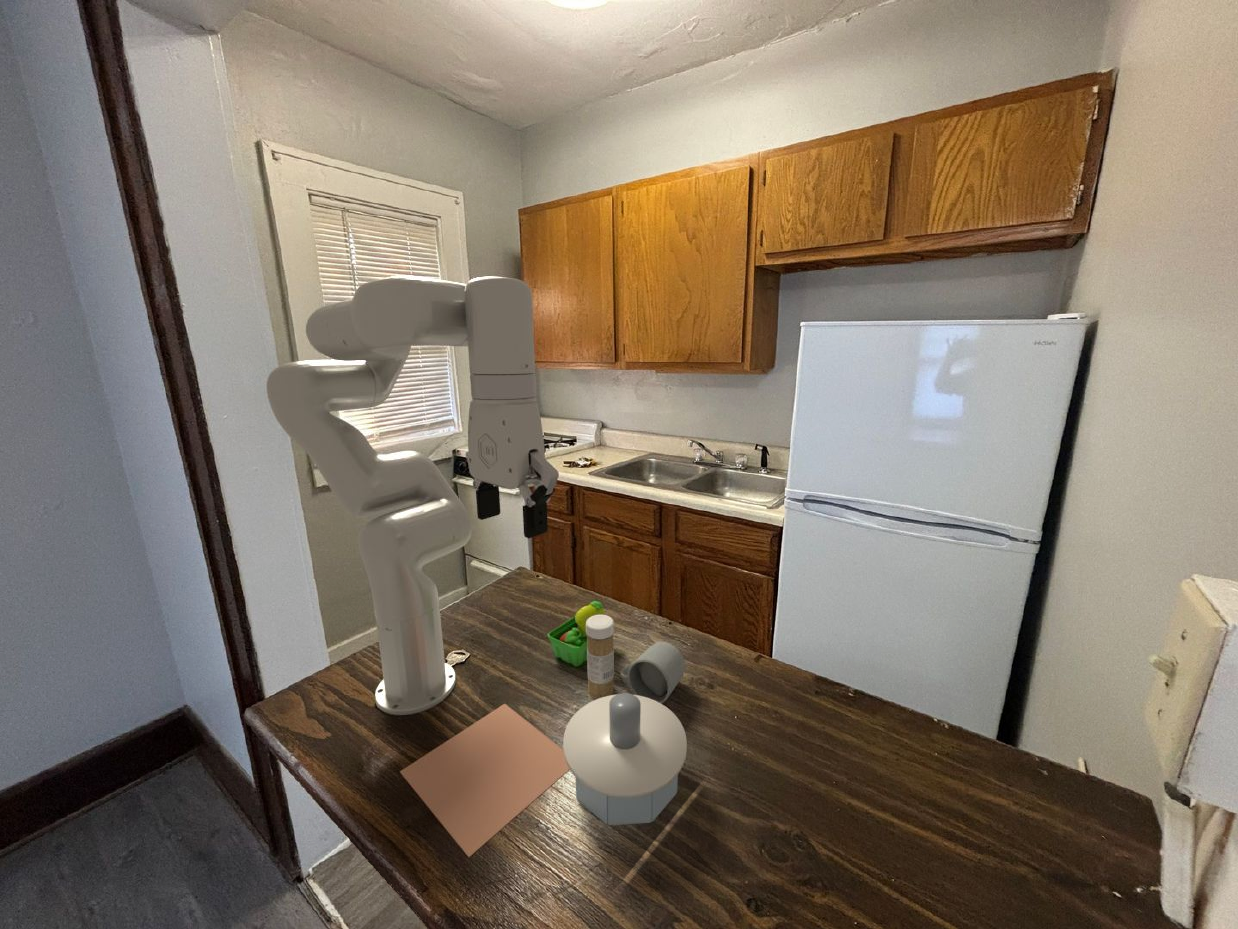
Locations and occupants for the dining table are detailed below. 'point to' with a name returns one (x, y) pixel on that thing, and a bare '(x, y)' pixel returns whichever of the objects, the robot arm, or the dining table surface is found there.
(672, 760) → the lid
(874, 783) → the dining table surface
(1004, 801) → the dining table surface
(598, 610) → the fruit basket
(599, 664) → the spice bottle
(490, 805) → the mat
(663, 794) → the bowl
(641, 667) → the ceramic mug
